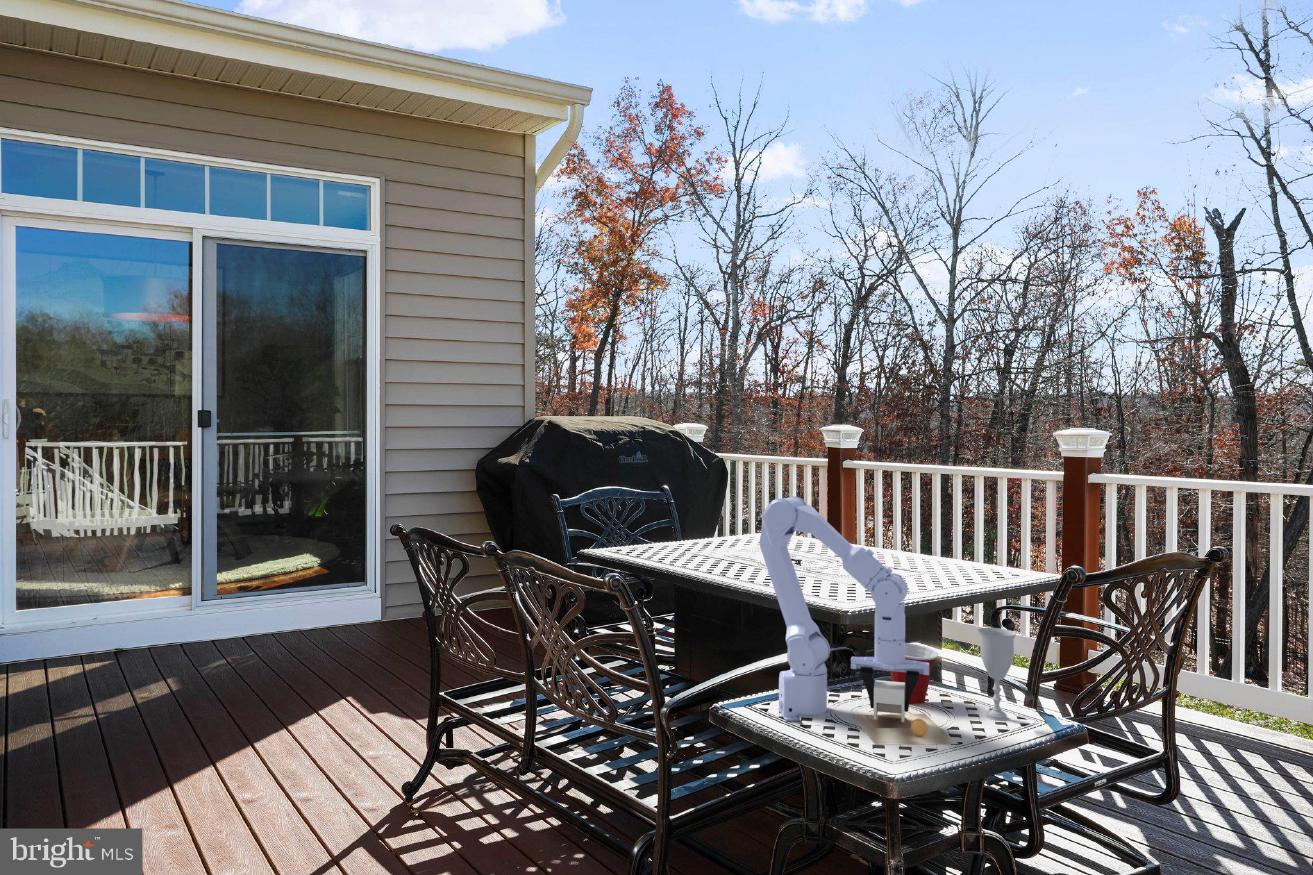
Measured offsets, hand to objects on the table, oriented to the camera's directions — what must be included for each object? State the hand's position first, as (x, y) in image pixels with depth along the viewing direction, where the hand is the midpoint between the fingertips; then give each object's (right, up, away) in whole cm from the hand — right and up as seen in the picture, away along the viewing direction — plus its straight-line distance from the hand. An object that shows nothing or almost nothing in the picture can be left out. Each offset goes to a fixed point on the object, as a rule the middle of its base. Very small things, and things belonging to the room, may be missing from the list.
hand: (889, 708), depth 164 cm
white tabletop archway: (0, -2, 0) cm, 2 cm away
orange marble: (+3, -3, -8) cm, 9 cm away
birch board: (+1, -4, -4) cm, 6 cm away
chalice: (+22, -4, +3) cm, 22 cm away
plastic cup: (+8, -4, +14) cm, 17 cm away
